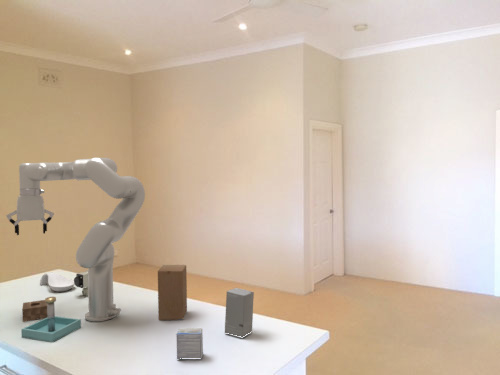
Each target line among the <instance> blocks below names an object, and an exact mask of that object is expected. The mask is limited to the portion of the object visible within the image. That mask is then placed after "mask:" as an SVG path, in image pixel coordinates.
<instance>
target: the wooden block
mask: <svg viewBox="0 0 500 375" xmlns="http://www.w3.org/2000/svg"><path fill="white" fill-rule="evenodd" d="M187 286H188V285H187V265H186V264H162V266H161V267H160V268H158V270H157V301H158V302H157V304H158V305H157V306H158V308H157V309H158V320H159V321H179V320H178V319H183V320H184V319H185V317H186V314H187V311H188V292H187V291H188V290H187Z"/></svg>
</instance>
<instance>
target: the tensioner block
mask: <svg viewBox="0 0 500 375" xmlns="http://www.w3.org/2000/svg"><path fill="white" fill-rule="evenodd" d="M21 308H22V309H21V310H22V313H21V314H22V323H25V322H29V321H32V322H33V321H37V320H43V319H45V318H47V317H48V316H47V303H45V299H42V300H33V301H26V302H23V303H22V307H21Z"/></svg>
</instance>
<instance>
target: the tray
mask: <svg viewBox="0 0 500 375" xmlns="http://www.w3.org/2000/svg"><path fill="white" fill-rule="evenodd" d="M81 322H82V319H80V318H71V317H65V316H56V315H55V331H53V332H48V317H47V318H45V319H39V321H36V322H34V323H32V324H29V325H28V326H25V327H23V328H21V331H20V332H21V334H20V335H21V338H23V339H31V340H37V341H43V342H50V343H54V342H56V341H58V340H60V339H62V338H64V337H65V336H67V335H69V334H71V333H73V332H74V331H77V330H78V329H81V327H82V323H81Z"/></svg>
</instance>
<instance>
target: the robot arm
mask: <svg viewBox="0 0 500 375" xmlns="http://www.w3.org/2000/svg"><path fill="white" fill-rule="evenodd" d="M18 167H19V168H18V173H19V176H18V178H19V182H18V183H19V196H17V199H16V210H14V211H12V212H10V213H8V214H6V219H7V220H8V221H9V222H10V223H11V224H12V225H14V234H16V236H19V235H20V225H19V223H20V222H23V221H41V222H42V233H43V234H46V232H47V231H48V223H49V222H50V221H52V219H53V217H54V215H55V213H54V212H52V211H51V210H49V209H45V202H44V197H43V195H42V194H45V189H41V182H48V181H51V182H52V181H66V180H67V181H69V180H77V181H92V182H93V183H94V184H95V185H97V186H98V188H99V189H101V190H102V191H103V192H105V193H106V195H108V196H109V197H111V198H114V199H118V200H120V199H121V200H120V201H119V203H118V204H117V205H116V206H115V208H114V210H112V213H110V215H109V217H108V218H106V219H104V220H100V221H98V222H96V223H95V224H94V225H93V226H92V227H91V228H90V229H89V231H88V232H87V234H86V235H85V237H84V238H83V240H82V241H81V243H80V244H79V246H78V248H77V249H76V252H75V260H76V263H77V264H78V265H79V266H80V267H81V268H84V269H87V270H88V296H87V297H88V298H87V299H88V312H86V313H85V314H84V319H85V320H87V321H89V322H103V321H109V320H111V319H113V318H116V317H117V316H119V315H120V314H121V312H122V308H118V307H117V306H116V303H114V274H113V273H114V272H113V271H114V270H113V269H114V258H115V246H114V243H116V242H118V241H120V240H121V239H122V238H123V237H124V235H125V234H126V233H127V230H128V229H129V227H130V226H131V225H132V224H133V223H132V222H134V219H135V218H136V217H137V215H138V214H139V212H140V210H141V209H142V207H143V205H144V202H145V198H146V190H145V187H144V185H143V183H142V182H141V181H140V179H139V178H138V177H135V176H133V175H132V176H131V175H125V176H120V175H119V174H118V173H117V172H118V165H117V163H116V161H115V160H113V159H111V158H109V157H92V158H81V159H78V158H77V159H75V160H74V161H66V162H65V161H64V162H37V163H36V162H22V163H20V164H19V166H18ZM45 214H47V215H49V216H48V217H47V218H45ZM14 215H16V220H15V219H13V218H12V217H13V216H14Z"/></svg>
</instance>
